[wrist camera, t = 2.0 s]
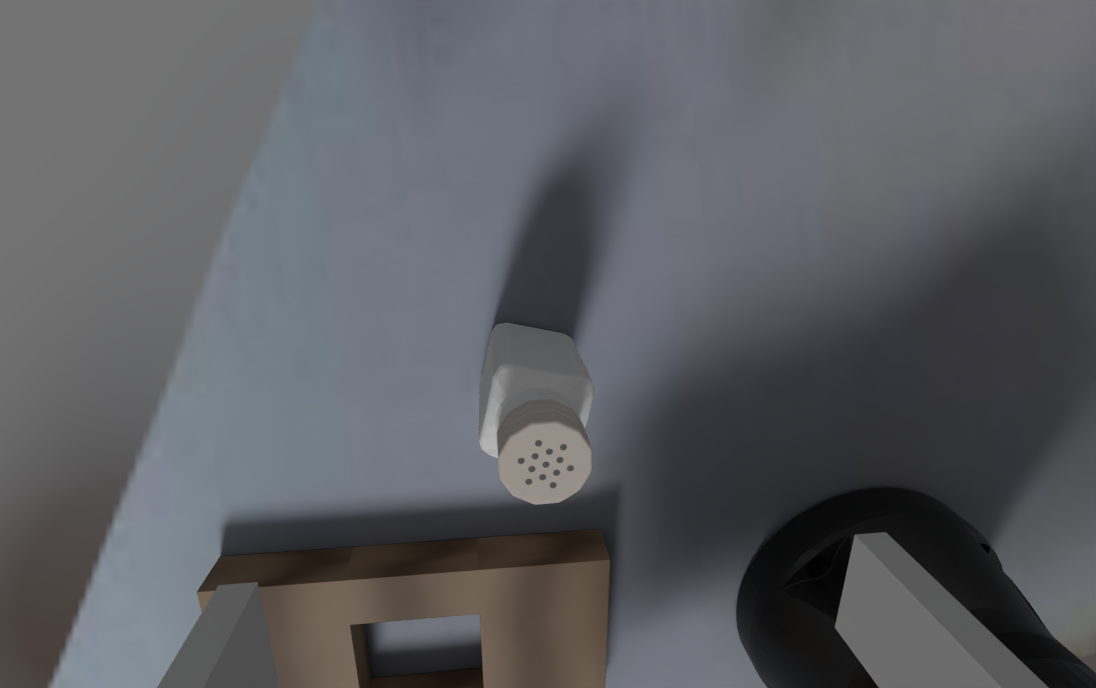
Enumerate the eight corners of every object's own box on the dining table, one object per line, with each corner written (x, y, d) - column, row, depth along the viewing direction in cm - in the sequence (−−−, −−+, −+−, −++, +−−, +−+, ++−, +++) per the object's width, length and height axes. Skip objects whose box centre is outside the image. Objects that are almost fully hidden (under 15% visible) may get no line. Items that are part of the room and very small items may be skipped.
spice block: (600, 529, 31) (610, 559, 29) (595, 690, 35) (603, 729, 33) (219, 556, 29) (196, 592, 27) (259, 724, 33) (242, 768, 31)
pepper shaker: (574, 332, 27) (619, 420, 18) (555, 406, 28) (588, 523, 19) (493, 316, 27) (498, 399, 18) (477, 392, 28) (474, 507, 19)
